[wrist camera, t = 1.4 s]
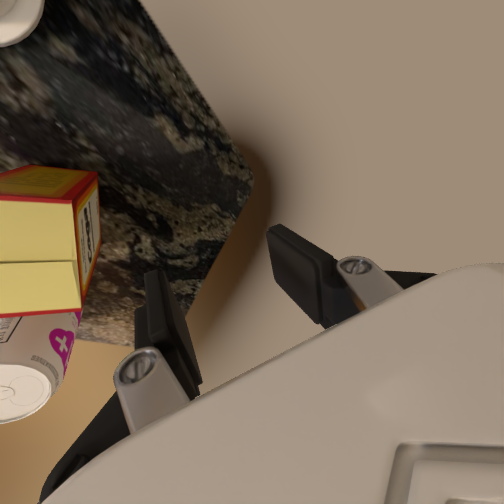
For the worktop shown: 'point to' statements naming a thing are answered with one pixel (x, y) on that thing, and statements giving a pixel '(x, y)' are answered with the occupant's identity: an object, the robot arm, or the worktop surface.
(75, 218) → the baking soda box
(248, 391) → the robot arm
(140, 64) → the worktop surface
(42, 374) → the supplement can
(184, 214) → the worktop surface
